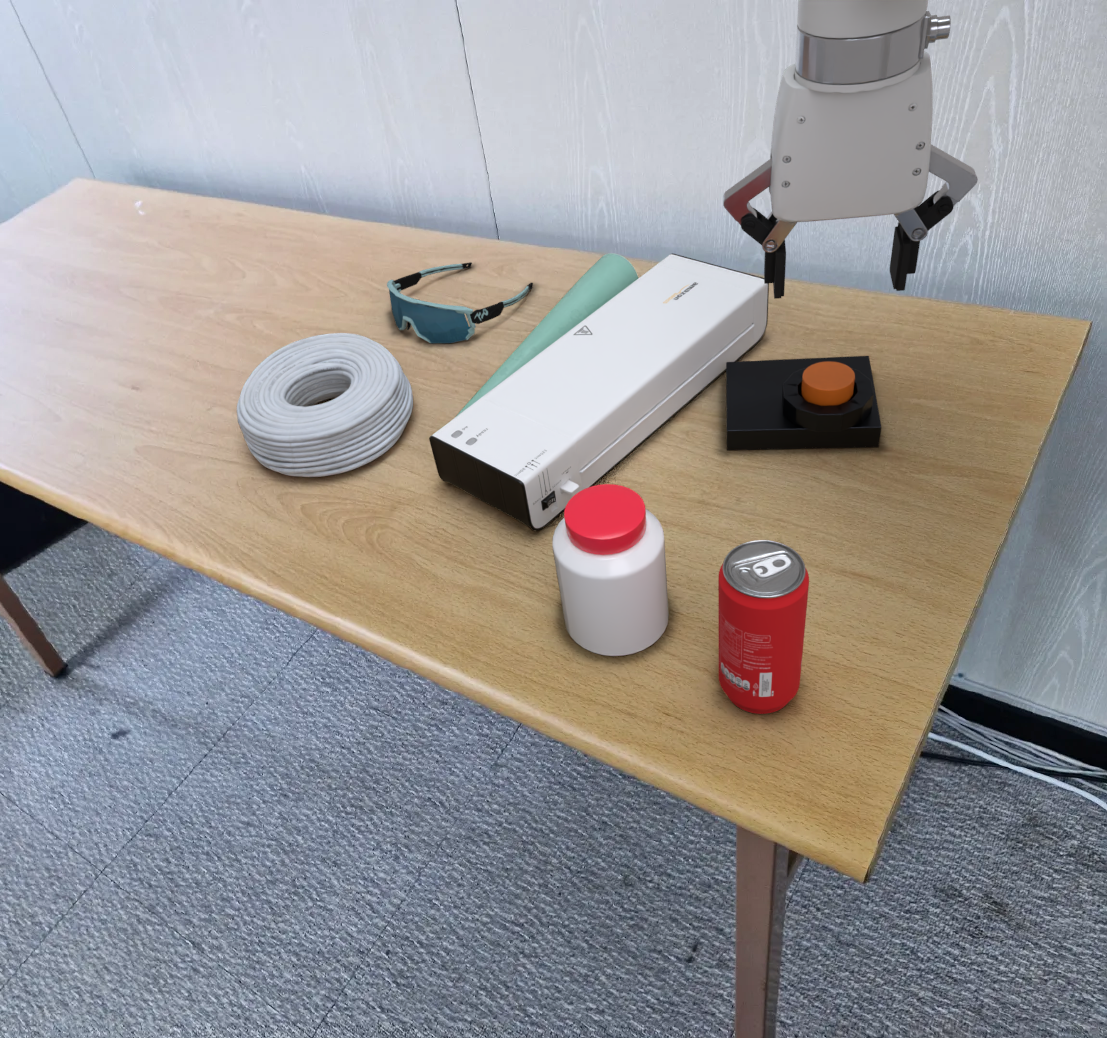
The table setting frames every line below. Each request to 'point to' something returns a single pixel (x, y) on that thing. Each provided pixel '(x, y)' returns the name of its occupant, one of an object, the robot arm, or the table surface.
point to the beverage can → (761, 625)
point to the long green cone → (567, 314)
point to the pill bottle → (611, 571)
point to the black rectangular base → (797, 407)
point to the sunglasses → (440, 310)
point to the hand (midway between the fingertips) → (836, 284)
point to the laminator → (602, 388)
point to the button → (828, 383)
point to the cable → (324, 405)
